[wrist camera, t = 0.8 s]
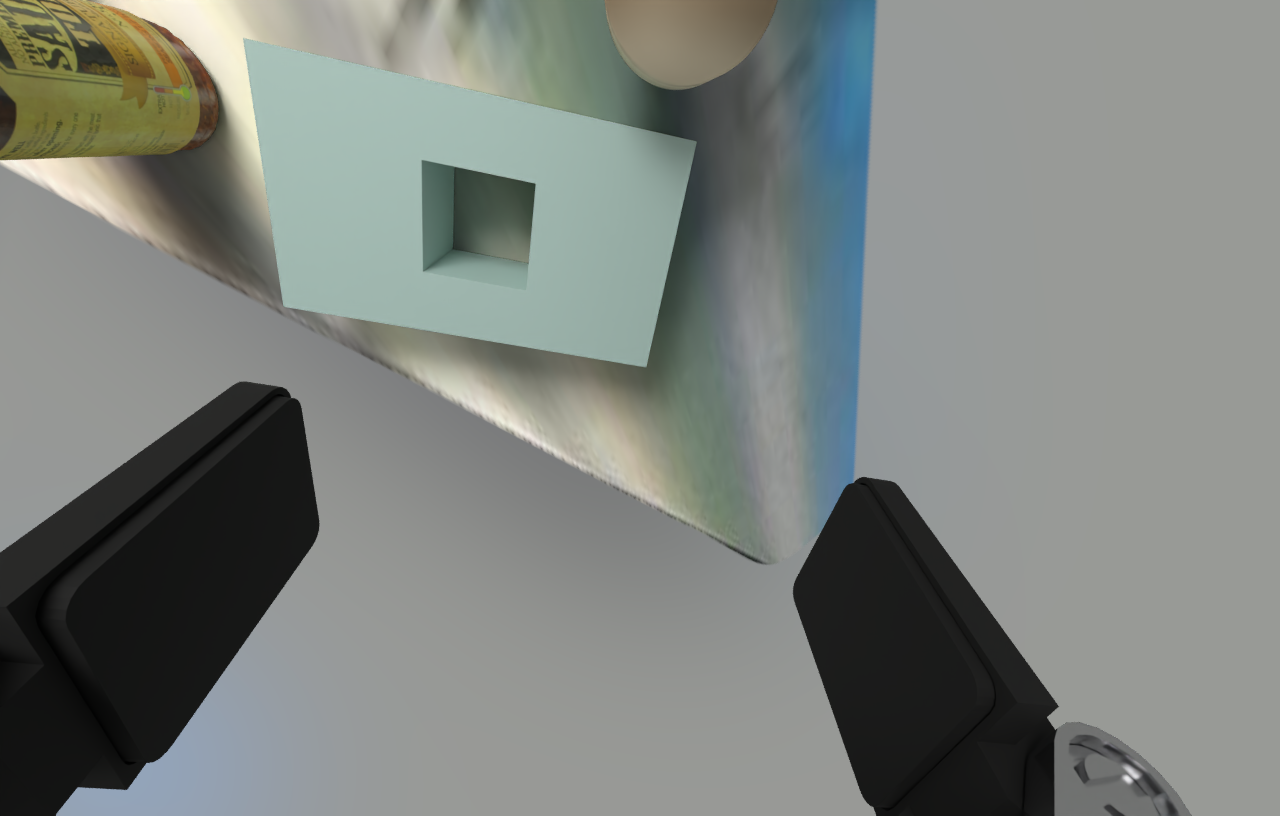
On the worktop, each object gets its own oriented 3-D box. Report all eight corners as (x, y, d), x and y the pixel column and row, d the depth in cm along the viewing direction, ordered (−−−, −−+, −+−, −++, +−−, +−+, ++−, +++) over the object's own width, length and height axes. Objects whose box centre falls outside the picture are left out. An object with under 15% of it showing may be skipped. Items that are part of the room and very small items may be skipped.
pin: (619, -76, 24) (619, -179, 16) (746, -41, 25) (809, -122, 17) (598, 80, 27) (589, 61, 19) (712, 107, 28) (751, 100, 20)
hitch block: (312, 53, 26) (243, 38, 21) (684, 138, 29) (696, 141, 24) (333, 279, 32) (283, 306, 27) (642, 333, 34) (646, 367, 30)
